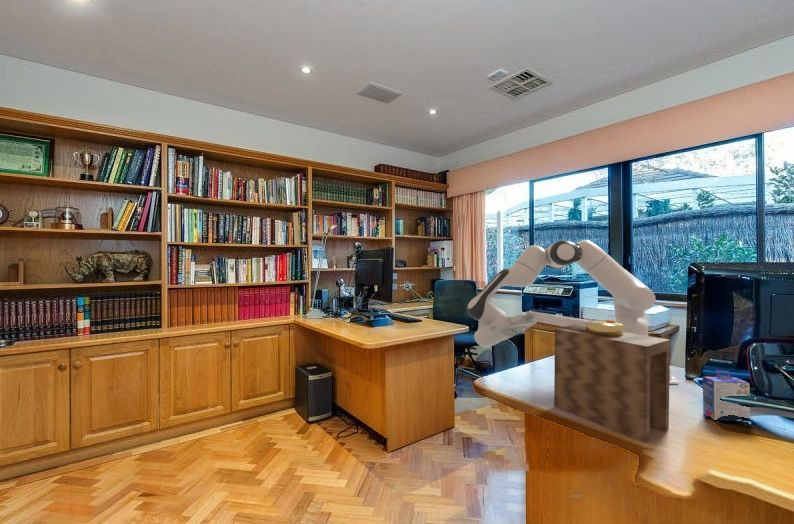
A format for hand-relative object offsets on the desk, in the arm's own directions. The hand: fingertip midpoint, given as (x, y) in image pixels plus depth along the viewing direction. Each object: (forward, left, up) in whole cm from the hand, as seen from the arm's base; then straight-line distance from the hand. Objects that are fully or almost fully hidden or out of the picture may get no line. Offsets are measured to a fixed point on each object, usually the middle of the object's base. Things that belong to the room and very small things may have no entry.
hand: (529, 315), depth 133 cm
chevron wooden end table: (-20, +20, -28) cm, 40 cm away
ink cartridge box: (-55, +13, -28) cm, 63 cm away
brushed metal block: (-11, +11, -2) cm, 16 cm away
